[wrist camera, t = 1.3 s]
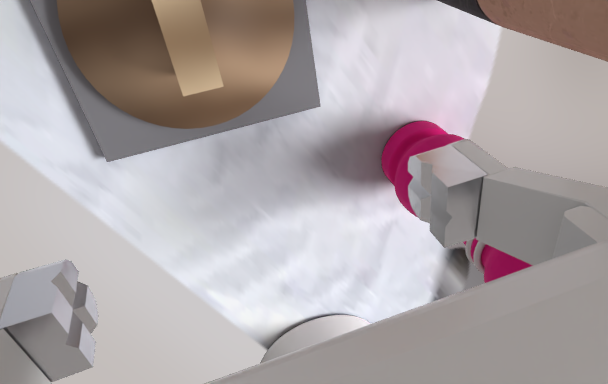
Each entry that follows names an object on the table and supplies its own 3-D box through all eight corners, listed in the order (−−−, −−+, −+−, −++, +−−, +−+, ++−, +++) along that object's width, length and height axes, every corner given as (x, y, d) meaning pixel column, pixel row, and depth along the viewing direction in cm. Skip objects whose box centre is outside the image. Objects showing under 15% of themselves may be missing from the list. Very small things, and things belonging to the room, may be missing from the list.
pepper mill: (362, 179, 39) (504, 370, 23) (398, 105, 36) (591, 264, 20) (425, 193, 42) (591, 371, 26) (464, 126, 39) (678, 280, 23)
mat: (317, 102, 34) (320, 106, 34) (108, 157, 32) (107, 162, 31) (279, -158, 25) (283, -160, 24) (-17, -106, 23) (-22, -107, 22)
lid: (306, 97, 33) (325, 122, 29) (116, 146, 31) (109, 180, 27) (269, -134, 25) (289, -142, 21) (10, -88, 23) (-21, -87, 19)
